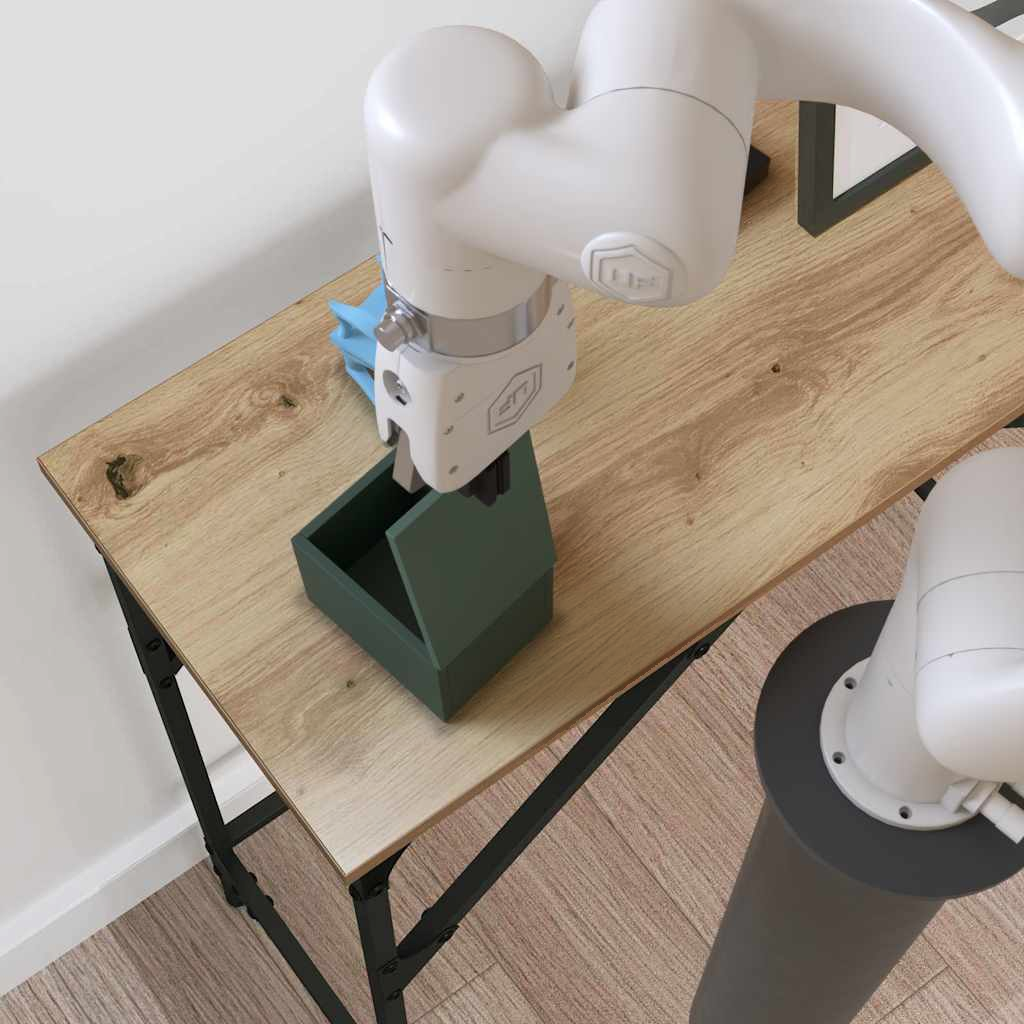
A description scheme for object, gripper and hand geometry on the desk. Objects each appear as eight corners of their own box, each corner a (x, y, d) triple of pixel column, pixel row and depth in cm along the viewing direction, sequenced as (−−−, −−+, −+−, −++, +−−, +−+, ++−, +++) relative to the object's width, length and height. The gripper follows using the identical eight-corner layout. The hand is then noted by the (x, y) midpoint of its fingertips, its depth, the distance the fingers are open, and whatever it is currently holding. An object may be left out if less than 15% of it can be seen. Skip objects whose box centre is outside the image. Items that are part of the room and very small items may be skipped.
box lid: (384, 531, 89) (394, 539, 88) (517, 412, 92) (527, 419, 92) (432, 664, 100) (441, 671, 100) (549, 554, 104) (558, 560, 103)
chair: (391, 322, 124) (376, 222, 114) (475, 377, 121) (468, 279, 111) (324, 389, 121) (303, 292, 111) (409, 447, 119) (396, 353, 108)
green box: (307, 598, 113) (289, 539, 105) (415, 501, 116) (406, 437, 109) (445, 723, 108) (437, 671, 100) (553, 619, 112) (553, 560, 104)
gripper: (407, 429, 68) (430, 615, 84) (642, 226, 73) (622, 438, 89) (287, 329, 71) (332, 528, 87) (522, 139, 76) (523, 360, 92)
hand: (479, 482), depth 88 cm, fingers closed
